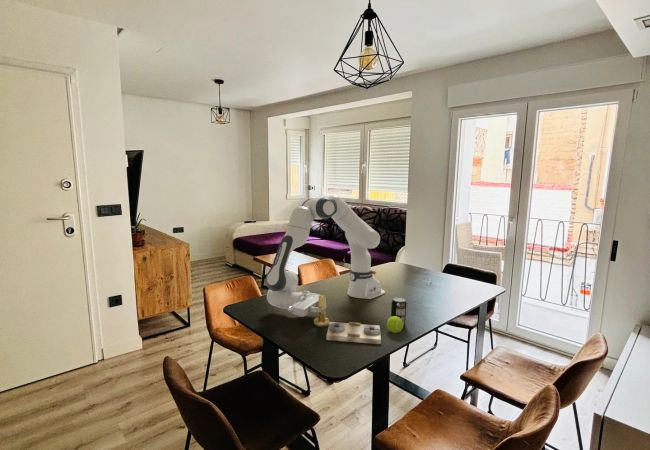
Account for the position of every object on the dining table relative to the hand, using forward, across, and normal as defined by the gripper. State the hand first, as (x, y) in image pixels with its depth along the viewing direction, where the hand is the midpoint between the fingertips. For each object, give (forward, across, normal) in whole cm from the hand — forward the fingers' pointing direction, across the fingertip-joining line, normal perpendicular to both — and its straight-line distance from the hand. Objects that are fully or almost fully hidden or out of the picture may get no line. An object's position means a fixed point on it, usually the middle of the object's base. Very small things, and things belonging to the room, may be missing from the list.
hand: (323, 308), depth 154 cm
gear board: (+16, -3, +8) cm, 18 cm away
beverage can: (+29, +17, +8) cm, 35 cm away
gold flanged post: (-1, 0, +8) cm, 8 cm away
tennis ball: (+30, +9, +8) cm, 33 cm away
